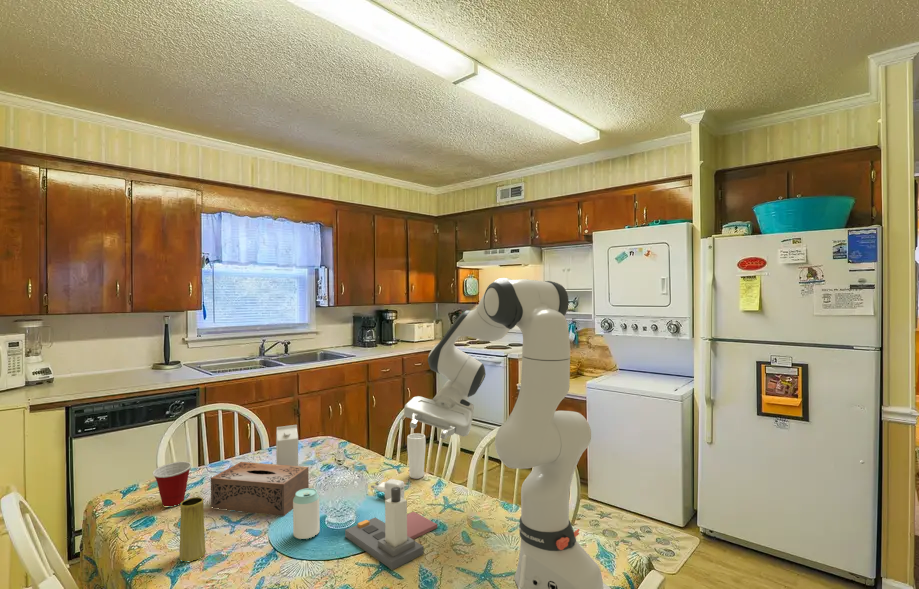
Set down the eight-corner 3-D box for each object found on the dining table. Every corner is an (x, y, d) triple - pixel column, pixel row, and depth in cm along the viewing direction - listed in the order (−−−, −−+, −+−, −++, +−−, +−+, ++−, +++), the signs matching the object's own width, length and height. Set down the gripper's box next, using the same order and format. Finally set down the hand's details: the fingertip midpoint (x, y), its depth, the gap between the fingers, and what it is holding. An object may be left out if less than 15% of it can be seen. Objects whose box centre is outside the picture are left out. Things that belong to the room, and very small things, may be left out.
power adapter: (369, 497, 154) (369, 480, 154) (377, 492, 159) (377, 474, 159) (398, 503, 150) (398, 485, 150) (406, 497, 154) (405, 479, 154)
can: (325, 532, 132) (324, 490, 132) (305, 543, 126) (304, 499, 126) (307, 525, 136) (307, 485, 136) (287, 537, 130) (287, 494, 130)
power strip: (423, 553, 121) (423, 540, 121) (392, 570, 114) (392, 555, 114) (375, 524, 137) (375, 512, 136) (345, 536, 130) (345, 524, 130)
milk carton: (276, 475, 174) (275, 424, 174) (296, 472, 177) (295, 422, 177) (277, 482, 168) (277, 429, 168) (298, 478, 171) (297, 427, 170)
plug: (407, 553, 121) (406, 488, 121) (394, 560, 118) (394, 493, 118) (398, 548, 124) (397, 484, 124) (385, 554, 121) (384, 488, 121)
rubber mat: (437, 527, 134) (437, 524, 134) (407, 542, 126) (407, 538, 126) (413, 514, 142) (413, 511, 142) (383, 527, 134) (383, 524, 134)
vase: (200, 547, 125) (199, 494, 125) (210, 555, 121) (209, 500, 121) (175, 557, 120) (174, 502, 120) (184, 565, 116) (183, 509, 116)
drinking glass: (422, 480, 168) (422, 439, 168) (405, 479, 169) (404, 438, 169) (428, 473, 174) (427, 433, 174) (410, 472, 176) (410, 432, 176)
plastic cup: (144, 510, 147) (143, 472, 147) (172, 495, 157) (172, 460, 157) (172, 513, 144) (172, 475, 144) (199, 498, 155) (199, 462, 155)
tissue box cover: (211, 509, 147) (210, 478, 147) (241, 490, 162) (240, 461, 162) (284, 516, 142) (283, 484, 142) (308, 496, 156) (308, 466, 156)
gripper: (416, 386, 143) (394, 410, 131) (478, 406, 137) (462, 433, 125) (414, 403, 145) (393, 428, 133) (476, 424, 139) (460, 452, 127)
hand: (427, 431), depth 129 cm, fingers open, 8 cm apart
